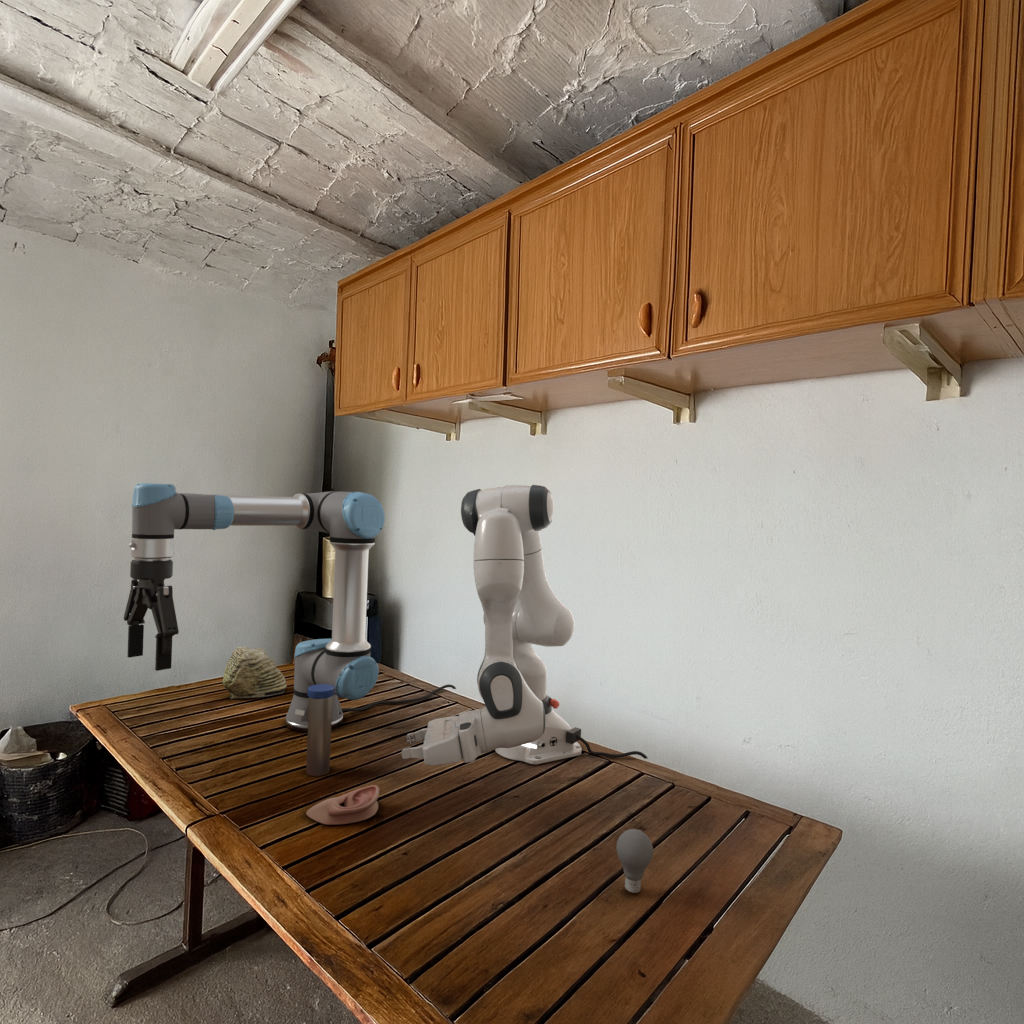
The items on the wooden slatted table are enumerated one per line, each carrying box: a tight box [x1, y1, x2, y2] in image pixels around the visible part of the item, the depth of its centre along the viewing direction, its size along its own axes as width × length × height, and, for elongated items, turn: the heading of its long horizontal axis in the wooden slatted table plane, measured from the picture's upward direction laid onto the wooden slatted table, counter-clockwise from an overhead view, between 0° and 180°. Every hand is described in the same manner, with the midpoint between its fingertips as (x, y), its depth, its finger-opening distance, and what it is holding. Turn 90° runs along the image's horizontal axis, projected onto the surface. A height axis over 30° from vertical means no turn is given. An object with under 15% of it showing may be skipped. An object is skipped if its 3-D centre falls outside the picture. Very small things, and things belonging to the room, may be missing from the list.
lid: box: [307, 684, 335, 699], centre depth 146 cm, size 6×6×2 cm
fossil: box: [222, 646, 288, 699], centre depth 198 cm, size 9×18×15 cm, turn 132°
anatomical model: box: [305, 784, 380, 826], centre depth 128 cm, size 13×4×12 cm
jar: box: [305, 696, 332, 777], centre depth 146 cm, size 5×5×19 cm
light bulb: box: [615, 828, 654, 894], centre depth 106 cm, size 6×6×10 cm
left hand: (148, 662), depth 129 cm, fingers open, 13 cm apart
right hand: (404, 746), depth 132 cm, fingers open, 8 cm apart
